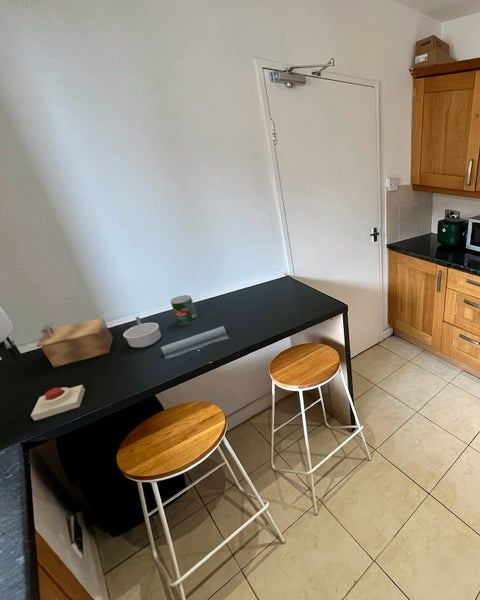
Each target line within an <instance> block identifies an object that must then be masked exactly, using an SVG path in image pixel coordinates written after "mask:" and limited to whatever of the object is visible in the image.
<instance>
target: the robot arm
mask: <svg viewBox="0 0 480 600" xmlns="http://www.w3.org/2000/svg"><path fill="white" fill-rule="evenodd" d="M13 330H14V325H13V322H12V320H11V319H10V317H9V316H8V315H7V313H6V312H5V310H4V309H3V308H2V306H0V359H1V361H2V362H4V363H9V362H12V361H17V360H20V359H21V358H22V356H23V354H22V352H21V351H20V350H19V348H18V347H17V345H16V344H15V341H14V339H13V338H12V337H13V336H12V335H11V333H12V332H13Z"/></svg>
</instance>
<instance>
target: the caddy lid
mask: <svg viewBox="0 0 480 600" xmlns="http://www.w3.org/2000/svg"><path fill="white" fill-rule="evenodd" d="M103 321H105V319H104V318H103V317H102V318H98V319H92V320H86V321H82V322H77V323H73V324H66V325H62V326H58V327H57V326H56V327H53V325H54V324H53V323H52V322H46V323H45V324H44V326H43V327H42V329H41V330H40V332H41V333H42V335H41V338H40V339H39V341H38V342H37V344H36V348H40V347H42V346H45V345H50V344H55V343H59V342H64V341H69V340H73V339H78V338H82V337H87V336H92V335H96V334H99V332H100V329H101V326H102V323H103Z"/></svg>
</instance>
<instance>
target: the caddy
mask: <svg viewBox="0 0 480 600" xmlns="http://www.w3.org/2000/svg"><path fill="white" fill-rule="evenodd" d="M113 340H114V338H113V335H112V333H111V331H110V329H109V327H108V325H107V323H106V321H105V320H104V321H103V323H102V326H101V329H100V332H99V334H96V335H92V336H87V337H82V338H78V339H73V340H69V341H64V342H59V343H55V344H50V345H45V346H41V349H42V351H43V353H44V354H45V356H46V357H47V358H48V360H49V363H51V366H52V367H53V368H56V367H60V366H64V365H69V364H72V363H76V362H80V361H84V360H87V359H91V358H95V357H98V356H102V355H107V354H109V353H110V350H111V346H112V343H113Z"/></svg>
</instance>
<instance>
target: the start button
mask: <svg viewBox="0 0 480 600" xmlns="http://www.w3.org/2000/svg"><path fill="white" fill-rule="evenodd" d="M61 388H62V387H54V388H51V389H49V390H47V391H46V392H45V393H44V395H45V396H46V398H47V399H48V400H52V399H55V398H57V397H59V396H61V395H62V394H63V393H64V392H63V391H62V389H61Z"/></svg>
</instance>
